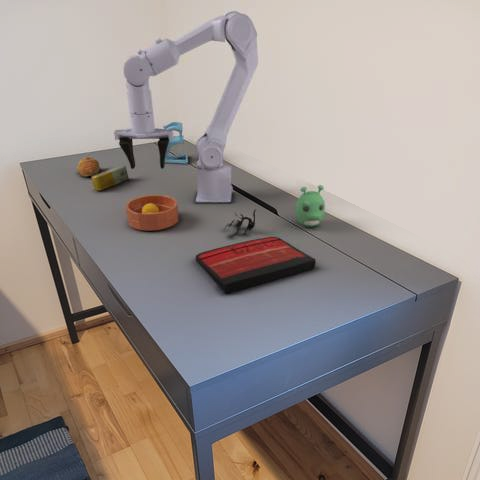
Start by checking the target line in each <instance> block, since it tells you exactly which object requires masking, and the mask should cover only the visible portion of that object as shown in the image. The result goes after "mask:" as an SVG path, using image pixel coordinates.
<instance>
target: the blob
mask: <svg viewBox="0 0 480 480" xmlns="http://www.w3.org/2000/svg"><path fill="white" fill-rule="evenodd" d="M142 213H145V214H150V213H159V209H158V207H157V206H156V205H155V204H152V203H148V204H146V205H145V206H144V207H143V208H142Z"/></svg>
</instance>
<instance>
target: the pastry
mask: <svg viewBox="0 0 480 480" xmlns="http://www.w3.org/2000/svg"><path fill="white" fill-rule="evenodd" d="M76 167H77V171H78V173H79V174H80V176H82V177H85V178H86V177H92V176H95V175H97V174H100V169H101V167H100V162H99V161H98V160H97V159H94V158H93V157H91V156H90V157H88V156H87V157H84V158H82V159H81V158H80V160H79V162H78V165H77V166H76Z"/></svg>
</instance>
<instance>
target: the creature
mask: <svg viewBox="0 0 480 480" xmlns="http://www.w3.org/2000/svg"><path fill="white" fill-rule="evenodd" d="M256 211H257V209H256V208H255V209H254V210H253V213H252V217H253V220H252V218H250V217H248V216H244V215H243V214H242V213H239V215H240V216H241V217H240V216H238V214H237V213H235V216H236V220H234V219H233V220H232V221H231V222H230V223H228V224H226V225H225V226H224V228H223V229H224V230H226V228H227V227H229V228H231V227H232V225H233V224H234V223H235V225H234V227H236V228H237V231H236V232H235V233H234V234H232V235H230V238H233V237H234V236H236V235H238V234H239V231H240V229H241V228H242V229H245V230H244V233H242V235H243V236H246V233H247V231H249V232H250V231H251V230H253V229H254V228H255V226H256ZM238 218H239V219H240V220H239V219H238ZM245 220H248V224H247V225H246V227H244V226H243V227H242V225H243V223H244V221H245Z"/></svg>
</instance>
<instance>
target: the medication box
mask: <svg viewBox="0 0 480 480" xmlns="http://www.w3.org/2000/svg"><path fill="white" fill-rule="evenodd" d="M128 180H130V178H129V173H128V170H127V166H126V165H118V166H116V167H113V168H111V169H107V170H105V171H102V172H99V173H97V174H96V175H92V176H91V181H92V185H93V190H94V191H103V190H106V189H108V188H111V187H113V186H116V185H118V184H120V183H123V182H125V181H128Z"/></svg>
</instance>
